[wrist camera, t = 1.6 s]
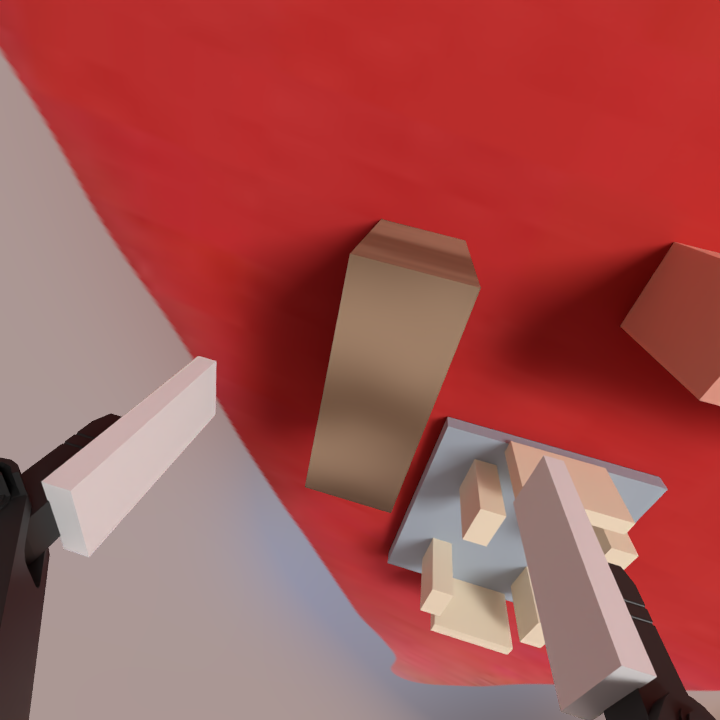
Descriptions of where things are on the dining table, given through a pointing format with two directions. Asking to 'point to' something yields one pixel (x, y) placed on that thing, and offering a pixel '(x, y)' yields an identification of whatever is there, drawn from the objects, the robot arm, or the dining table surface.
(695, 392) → the salmon pink block
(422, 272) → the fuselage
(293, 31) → the dining table surface
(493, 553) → the jig
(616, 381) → the dining table surface
